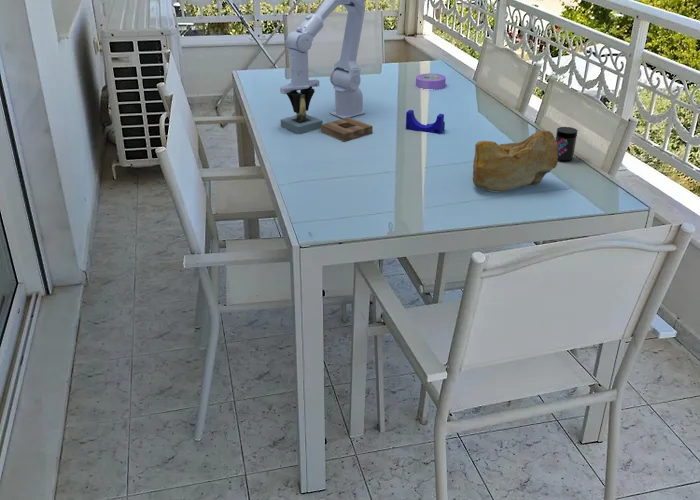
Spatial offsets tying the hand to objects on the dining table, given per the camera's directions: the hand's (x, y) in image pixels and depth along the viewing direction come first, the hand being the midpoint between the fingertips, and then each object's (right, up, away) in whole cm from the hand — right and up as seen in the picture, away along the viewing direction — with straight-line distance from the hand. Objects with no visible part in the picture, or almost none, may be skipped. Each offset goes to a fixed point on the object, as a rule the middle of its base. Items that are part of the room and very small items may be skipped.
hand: (300, 111), depth 233 cm
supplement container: (+80, -19, -23) cm, 85 cm away
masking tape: (+48, +19, +47) cm, 70 cm away
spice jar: (0, -3, +1) cm, 3 cm away
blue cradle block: (+41, -6, +1) cm, 42 cm away
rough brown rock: (+60, -27, -38) cm, 76 cm away
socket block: (+15, -7, -2) cm, 17 cm away
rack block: (0, -5, +3) cm, 6 cm away
